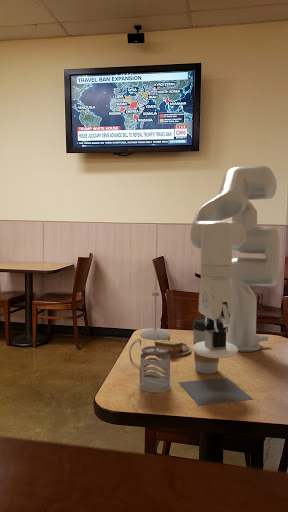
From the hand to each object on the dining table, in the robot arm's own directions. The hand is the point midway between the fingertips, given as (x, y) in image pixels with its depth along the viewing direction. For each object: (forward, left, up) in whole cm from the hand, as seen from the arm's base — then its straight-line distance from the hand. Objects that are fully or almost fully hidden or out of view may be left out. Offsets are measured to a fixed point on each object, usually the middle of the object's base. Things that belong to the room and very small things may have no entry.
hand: (215, 343), depth 96 cm
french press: (+15, -6, -12) cm, 20 cm away
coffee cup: (-4, -13, -12) cm, 19 cm away
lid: (0, 0, -2) cm, 2 cm away
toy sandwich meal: (0, -33, -13) cm, 36 cm away
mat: (0, +1, -12) cm, 12 cm away
